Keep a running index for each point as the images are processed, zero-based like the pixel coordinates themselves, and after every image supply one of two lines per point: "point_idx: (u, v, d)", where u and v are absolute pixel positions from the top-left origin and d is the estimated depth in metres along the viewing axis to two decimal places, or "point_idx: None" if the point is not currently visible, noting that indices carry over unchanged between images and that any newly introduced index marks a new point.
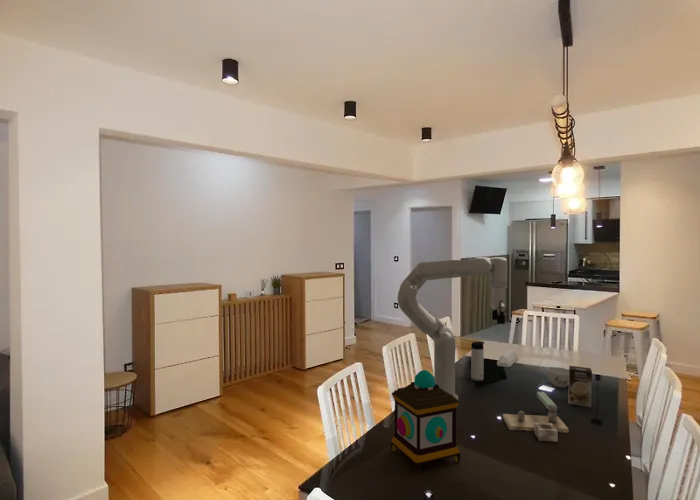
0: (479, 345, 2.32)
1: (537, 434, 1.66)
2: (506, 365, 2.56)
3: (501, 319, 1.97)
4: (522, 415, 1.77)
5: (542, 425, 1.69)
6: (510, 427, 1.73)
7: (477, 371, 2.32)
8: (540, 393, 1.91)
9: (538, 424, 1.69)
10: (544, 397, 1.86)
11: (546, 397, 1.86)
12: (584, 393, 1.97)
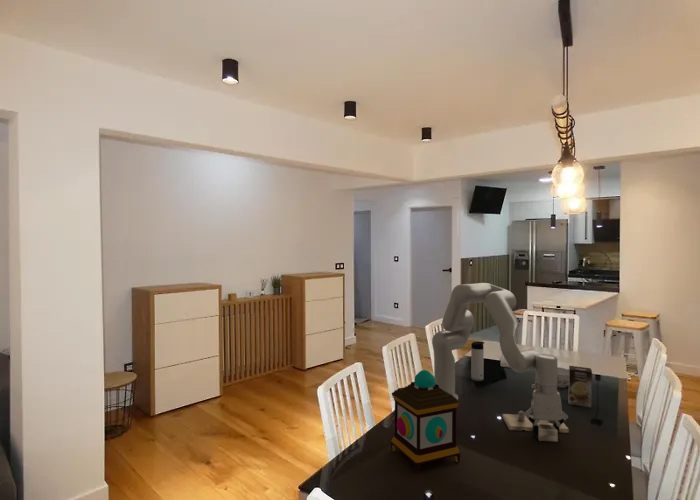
0: (479, 345, 2.32)
1: None
2: None
3: None
4: (522, 415, 1.77)
5: (542, 425, 1.69)
6: (510, 427, 1.73)
7: (477, 371, 2.32)
8: None
9: (538, 424, 1.69)
10: None
11: None
12: (584, 393, 1.97)
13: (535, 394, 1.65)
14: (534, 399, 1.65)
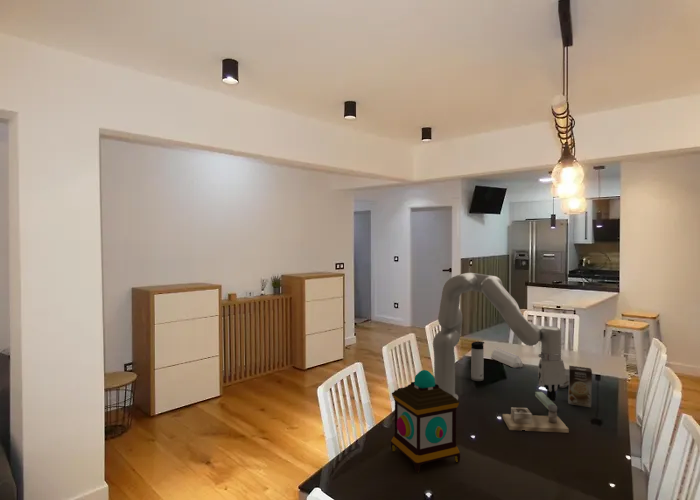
0: (479, 345, 2.32)
1: (513, 417, 1.78)
2: (521, 365, 2.56)
3: None
4: None
5: (518, 409, 1.80)
6: (510, 427, 1.73)
7: (477, 371, 2.32)
8: (539, 393, 1.91)
9: (514, 408, 1.80)
10: (543, 397, 1.86)
11: (545, 397, 1.86)
12: (584, 393, 1.97)
13: (543, 362, 1.84)
14: (542, 367, 1.84)
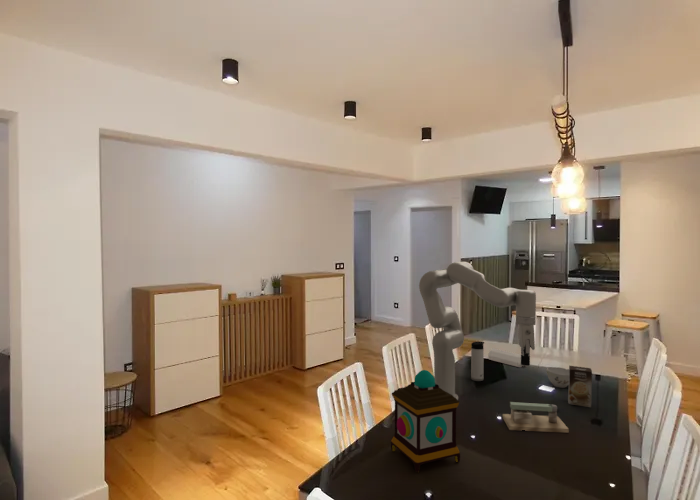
0: (479, 345, 2.32)
1: (513, 417, 1.78)
2: None
3: None
4: None
5: None
6: (510, 427, 1.73)
7: (477, 371, 2.32)
8: (516, 404, 1.79)
9: None
10: (527, 404, 1.78)
11: (527, 403, 1.79)
12: (584, 393, 1.97)
13: (532, 327, 1.76)
14: (532, 332, 1.76)
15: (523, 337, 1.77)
